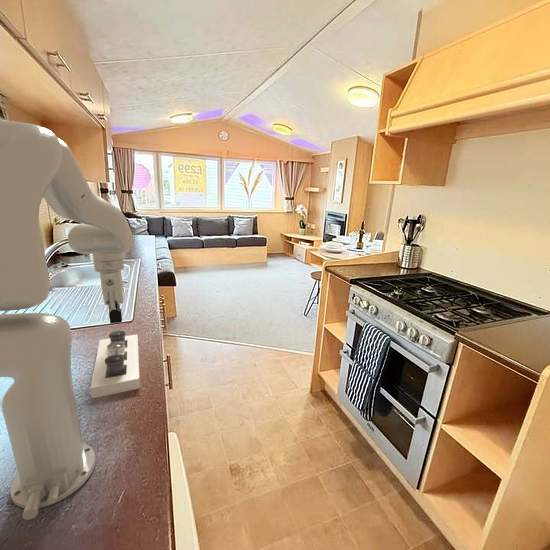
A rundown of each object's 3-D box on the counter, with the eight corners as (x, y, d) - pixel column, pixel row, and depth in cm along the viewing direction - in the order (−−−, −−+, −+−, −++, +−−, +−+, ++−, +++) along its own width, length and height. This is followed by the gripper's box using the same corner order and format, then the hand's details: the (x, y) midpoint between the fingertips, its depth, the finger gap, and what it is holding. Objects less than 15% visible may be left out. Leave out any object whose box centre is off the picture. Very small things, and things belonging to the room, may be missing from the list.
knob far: (126, 347, 93) (125, 336, 92) (109, 350, 92) (108, 338, 90) (126, 340, 97) (125, 329, 96) (110, 343, 96) (109, 331, 94)
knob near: (125, 374, 80) (124, 361, 79) (106, 378, 78) (104, 365, 77) (126, 365, 84) (124, 352, 83) (107, 369, 82) (105, 356, 81)
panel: (140, 388, 80) (139, 378, 79) (91, 398, 75) (90, 388, 74) (138, 342, 102) (137, 334, 101) (101, 348, 98) (99, 339, 97)
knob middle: (126, 360, 87) (124, 347, 86) (108, 363, 85) (106, 350, 84) (126, 352, 91) (125, 340, 90) (109, 355, 89) (107, 343, 88)
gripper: (122, 270, 82) (129, 330, 88) (124, 257, 95) (130, 310, 101) (91, 272, 79) (100, 335, 85) (96, 258, 92) (104, 313, 98)
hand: (116, 321), depth 93 cm, fingers closed
